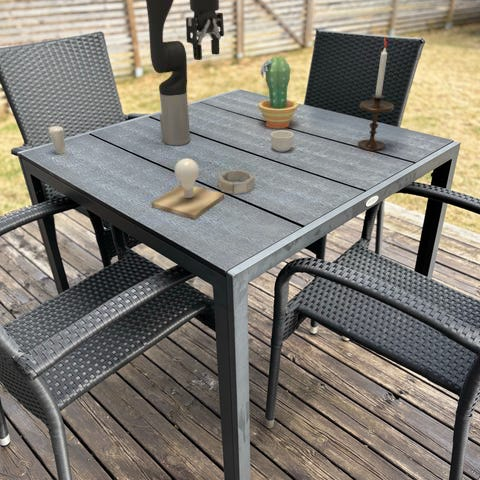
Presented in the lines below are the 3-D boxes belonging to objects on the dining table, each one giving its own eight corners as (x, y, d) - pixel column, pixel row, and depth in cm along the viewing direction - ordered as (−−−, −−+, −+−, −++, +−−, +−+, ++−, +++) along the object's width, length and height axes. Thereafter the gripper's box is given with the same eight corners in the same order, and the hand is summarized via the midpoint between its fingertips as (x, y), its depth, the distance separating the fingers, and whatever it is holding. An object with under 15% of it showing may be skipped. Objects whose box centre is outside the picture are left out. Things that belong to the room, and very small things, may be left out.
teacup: (290, 154, 154) (291, 138, 152) (268, 152, 156) (268, 137, 154) (296, 144, 163) (296, 129, 160) (274, 142, 164) (275, 127, 162)
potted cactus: (271, 116, 190) (272, 51, 177) (304, 123, 183) (308, 55, 169) (250, 126, 180) (249, 58, 167) (284, 133, 172) (286, 63, 159)
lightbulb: (204, 195, 126) (202, 156, 121) (193, 204, 122) (190, 165, 116) (184, 190, 129) (181, 153, 123) (172, 200, 124) (168, 161, 118)
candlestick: (348, 143, 162) (361, 35, 144) (374, 139, 166) (389, 33, 147) (367, 154, 154) (383, 40, 135) (394, 149, 157) (413, 37, 139)
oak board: (151, 206, 124) (151, 202, 123) (183, 187, 134) (183, 183, 133) (194, 219, 117) (194, 215, 117) (224, 197, 128) (224, 193, 127)
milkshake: (72, 151, 159) (66, 123, 154) (58, 156, 156) (51, 127, 150) (65, 148, 162) (59, 120, 156) (51, 152, 158) (44, 124, 153)
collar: (212, 189, 132) (212, 179, 131) (230, 176, 140) (230, 167, 138) (242, 196, 128) (242, 186, 126) (259, 183, 135) (259, 173, 134)
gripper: (207, -13, 126) (210, 51, 134) (175, -9, 115) (180, 60, 124) (230, -12, 122) (232, 53, 131) (199, -8, 112) (203, 62, 120)
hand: (206, 56), depth 127 cm, fingers open, 8 cm apart
